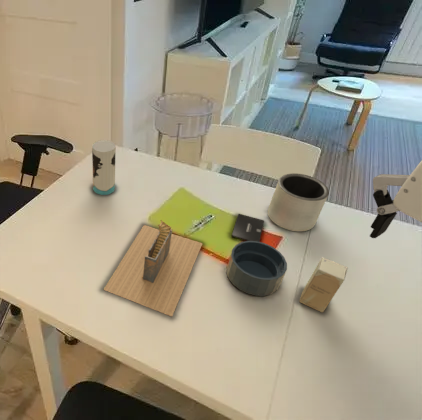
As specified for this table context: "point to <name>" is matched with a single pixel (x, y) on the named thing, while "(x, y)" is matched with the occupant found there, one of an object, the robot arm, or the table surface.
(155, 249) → the architectural model on board
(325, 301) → the box
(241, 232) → the solid state drive
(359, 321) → the table surface
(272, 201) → the planter
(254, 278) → the round storage tub
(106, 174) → the white patterned canister
